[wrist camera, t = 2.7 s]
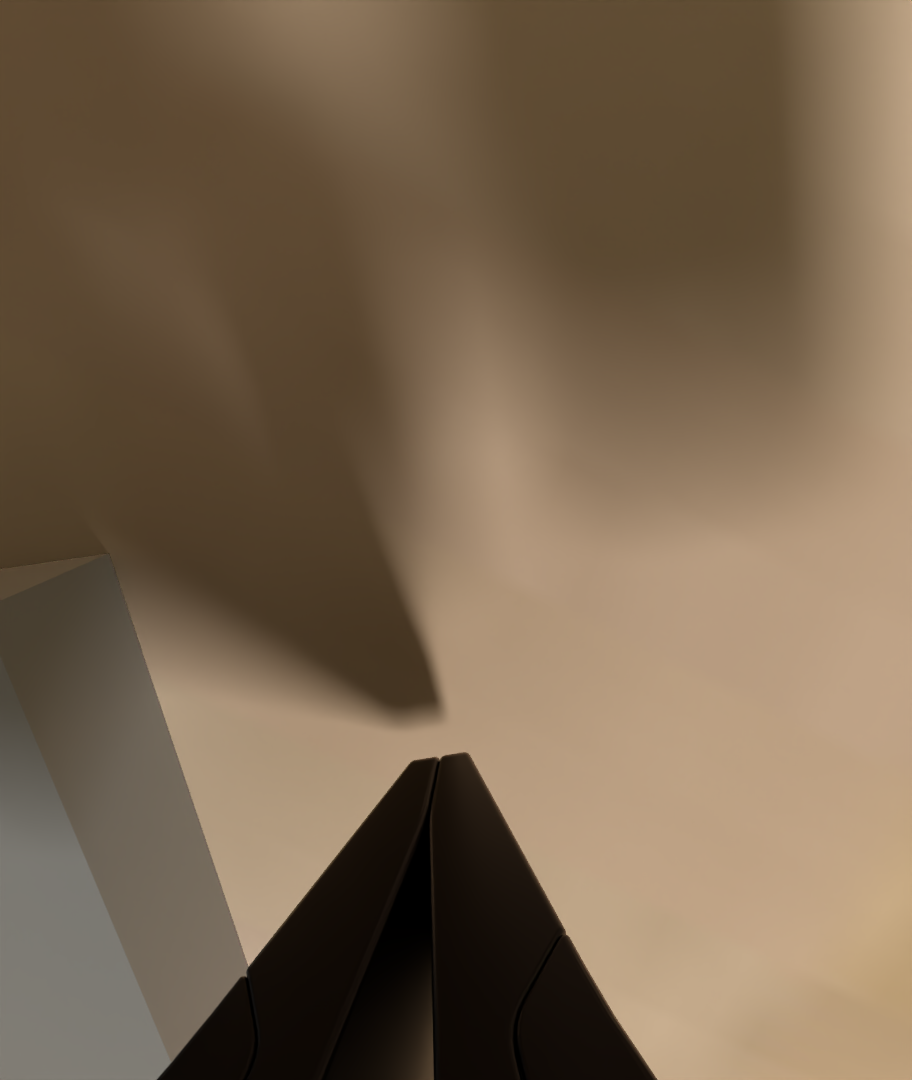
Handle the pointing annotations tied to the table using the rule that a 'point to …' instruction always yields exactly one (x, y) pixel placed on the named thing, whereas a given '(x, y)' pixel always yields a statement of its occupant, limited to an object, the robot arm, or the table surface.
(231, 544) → the table surface
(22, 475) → the table surface
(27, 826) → the slate slab
